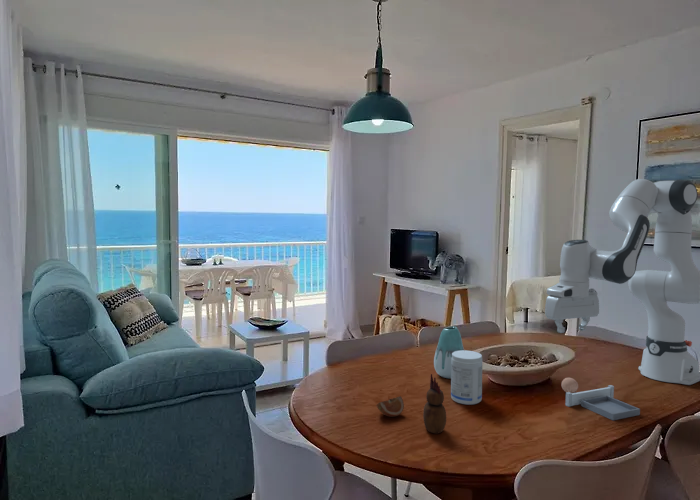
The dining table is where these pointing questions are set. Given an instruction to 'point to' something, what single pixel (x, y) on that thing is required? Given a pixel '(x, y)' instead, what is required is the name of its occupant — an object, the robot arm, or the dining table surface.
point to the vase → (447, 350)
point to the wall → (588, 395)
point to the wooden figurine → (434, 409)
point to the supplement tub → (466, 377)
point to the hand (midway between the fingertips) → (571, 331)
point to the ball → (569, 385)
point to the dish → (610, 407)
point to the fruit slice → (391, 407)
